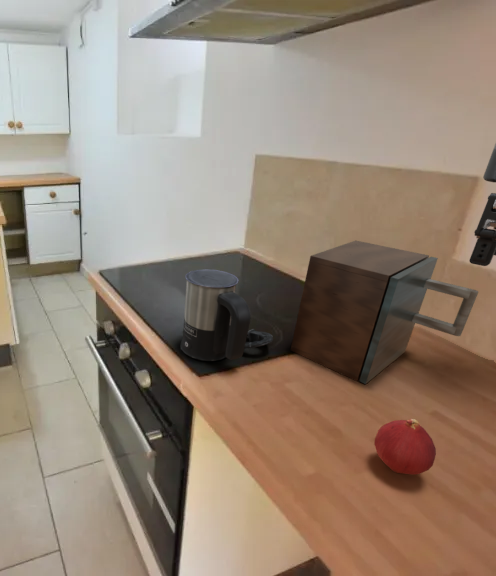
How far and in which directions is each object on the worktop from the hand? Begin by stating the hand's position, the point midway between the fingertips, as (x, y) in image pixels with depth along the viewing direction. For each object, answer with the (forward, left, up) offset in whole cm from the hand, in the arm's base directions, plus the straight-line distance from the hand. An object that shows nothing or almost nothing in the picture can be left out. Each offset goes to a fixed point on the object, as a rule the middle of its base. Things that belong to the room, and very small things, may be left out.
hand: (486, 259), depth 58 cm
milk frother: (+24, -27, -21) cm, 42 cm away
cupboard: (+6, -13, -21) cm, 26 cm away
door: (+6, -3, -21) cm, 22 cm away
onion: (+30, +4, -21) cm, 37 cm away
